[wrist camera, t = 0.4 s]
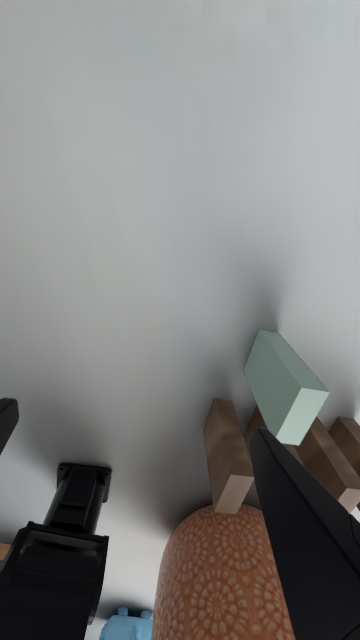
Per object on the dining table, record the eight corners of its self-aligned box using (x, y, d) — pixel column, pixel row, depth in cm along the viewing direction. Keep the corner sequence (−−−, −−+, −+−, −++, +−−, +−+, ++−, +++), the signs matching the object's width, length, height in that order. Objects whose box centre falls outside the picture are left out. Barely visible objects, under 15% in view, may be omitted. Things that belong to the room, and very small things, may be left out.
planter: (265, 564, 42) (329, 811, 25) (145, 555, 40) (123, 820, 23) (316, 489, 34) (466, 781, 17) (169, 473, 32) (165, 789, 14)
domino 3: (274, 407, 28) (313, 484, 20) (259, 438, 30) (289, 519, 22) (257, 404, 27) (290, 481, 20) (243, 436, 29) (268, 517, 22)
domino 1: (231, 400, 27) (255, 477, 19) (219, 432, 29) (236, 514, 21) (214, 398, 27) (230, 474, 19) (203, 430, 29) (213, 511, 21)
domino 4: (314, 413, 28) (368, 490, 20) (297, 443, 30) (340, 524, 22) (298, 410, 28) (347, 488, 20) (282, 441, 30) (320, 522, 22)
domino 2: (278, 332, 24) (330, 392, 16) (261, 374, 26) (299, 445, 18) (259, 329, 23) (301, 387, 16) (242, 371, 25) (273, 442, 18)
